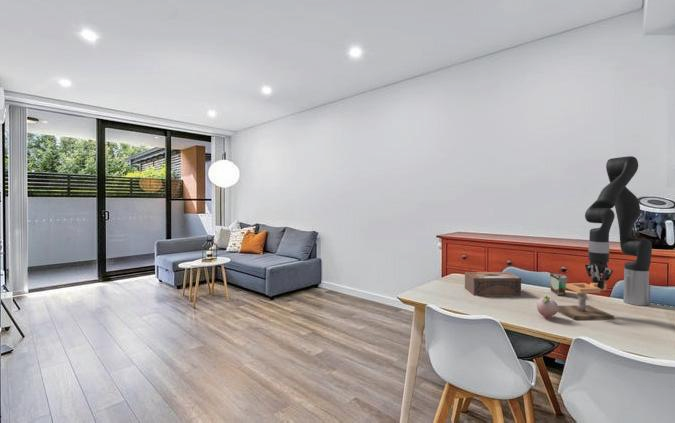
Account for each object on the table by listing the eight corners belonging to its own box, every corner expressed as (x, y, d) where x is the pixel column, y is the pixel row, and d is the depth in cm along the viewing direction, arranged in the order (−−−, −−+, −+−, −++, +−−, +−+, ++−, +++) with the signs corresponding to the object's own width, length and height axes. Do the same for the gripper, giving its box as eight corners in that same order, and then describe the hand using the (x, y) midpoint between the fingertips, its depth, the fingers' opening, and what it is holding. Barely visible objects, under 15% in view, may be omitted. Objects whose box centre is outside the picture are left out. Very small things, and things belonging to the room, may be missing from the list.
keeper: (588, 308, 160) (589, 287, 159) (613, 318, 146) (614, 296, 145) (552, 308, 159) (552, 288, 159) (573, 319, 145) (574, 296, 145)
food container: (572, 297, 177) (572, 278, 177) (559, 296, 178) (559, 278, 178) (561, 290, 189) (561, 273, 189) (549, 290, 190) (549, 273, 190)
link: (596, 286, 157) (596, 280, 157) (613, 292, 148) (613, 285, 148) (565, 287, 157) (565, 281, 156) (580, 293, 147) (580, 286, 147)
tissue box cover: (473, 296, 182) (473, 278, 182) (464, 288, 197) (464, 272, 196) (520, 295, 181) (521, 278, 181) (508, 288, 196) (508, 272, 195)
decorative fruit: (558, 322, 142) (558, 300, 142) (536, 319, 146) (536, 297, 146) (557, 316, 150) (558, 294, 150) (536, 312, 154) (537, 292, 154)
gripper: (619, 253, 145) (618, 292, 145) (594, 248, 158) (593, 283, 159) (603, 253, 144) (602, 292, 145) (579, 248, 158) (578, 284, 159)
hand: (597, 287), depth 152 cm, fingers closed on link, 2 cm apart
